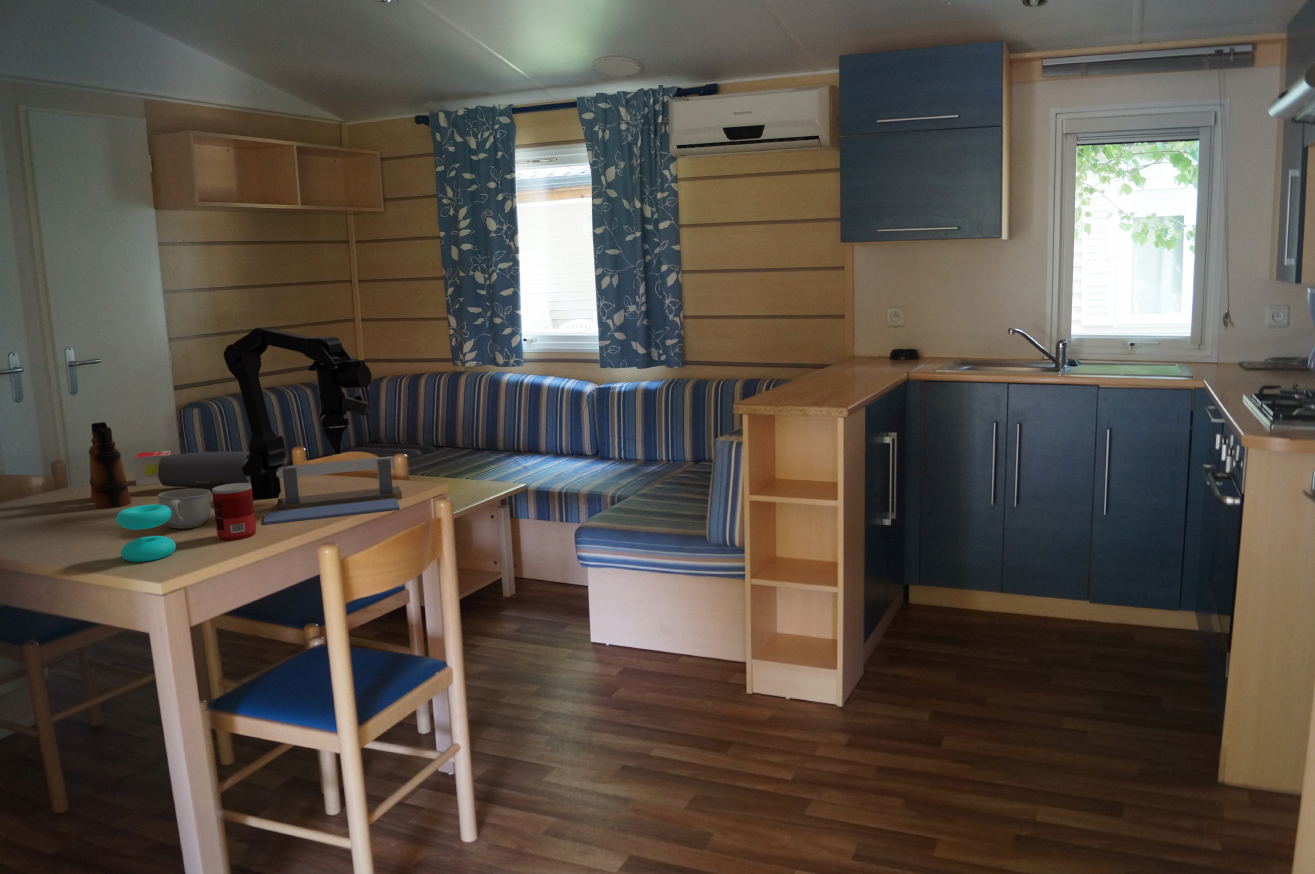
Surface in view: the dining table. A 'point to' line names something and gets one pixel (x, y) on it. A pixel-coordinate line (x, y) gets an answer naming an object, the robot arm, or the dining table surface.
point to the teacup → (187, 507)
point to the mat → (330, 511)
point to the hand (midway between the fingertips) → (337, 451)
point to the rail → (336, 466)
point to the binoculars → (106, 470)
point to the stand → (338, 498)
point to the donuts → (149, 545)
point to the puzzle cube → (148, 467)
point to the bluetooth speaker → (203, 469)
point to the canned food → (234, 511)
